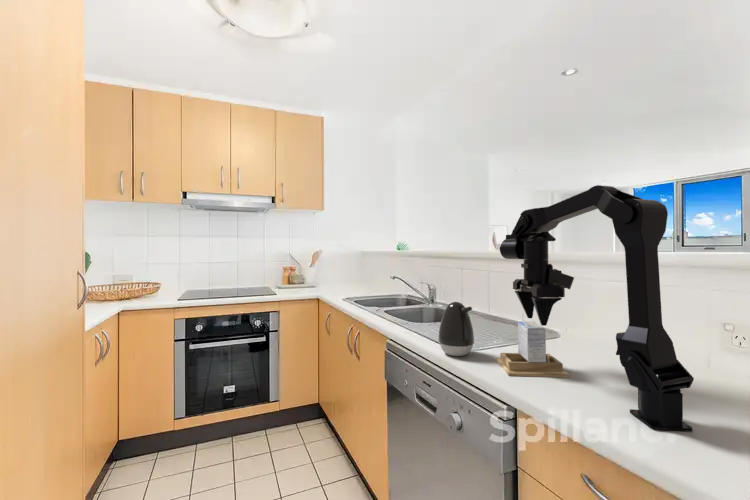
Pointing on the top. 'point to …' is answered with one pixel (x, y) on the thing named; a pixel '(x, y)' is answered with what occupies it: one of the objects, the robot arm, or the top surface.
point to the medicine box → (532, 341)
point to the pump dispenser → (456, 330)
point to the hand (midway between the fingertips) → (536, 321)
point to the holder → (531, 366)
